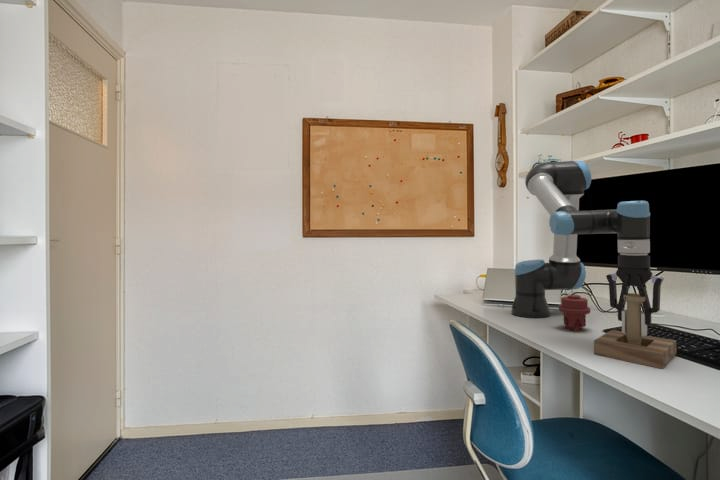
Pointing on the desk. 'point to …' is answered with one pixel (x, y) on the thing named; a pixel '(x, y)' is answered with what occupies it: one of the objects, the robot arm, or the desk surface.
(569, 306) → the mechanical component
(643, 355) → the socket block
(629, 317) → the handle
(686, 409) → the desk surface
